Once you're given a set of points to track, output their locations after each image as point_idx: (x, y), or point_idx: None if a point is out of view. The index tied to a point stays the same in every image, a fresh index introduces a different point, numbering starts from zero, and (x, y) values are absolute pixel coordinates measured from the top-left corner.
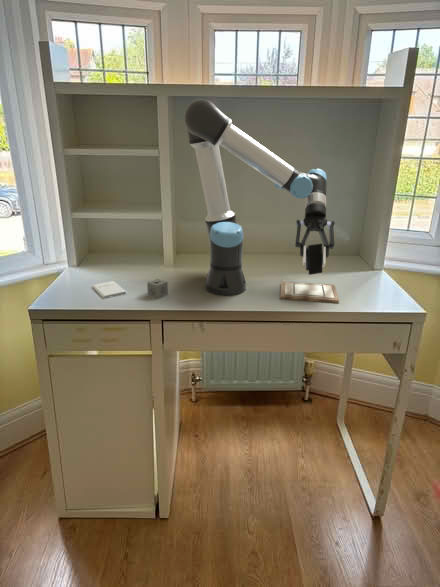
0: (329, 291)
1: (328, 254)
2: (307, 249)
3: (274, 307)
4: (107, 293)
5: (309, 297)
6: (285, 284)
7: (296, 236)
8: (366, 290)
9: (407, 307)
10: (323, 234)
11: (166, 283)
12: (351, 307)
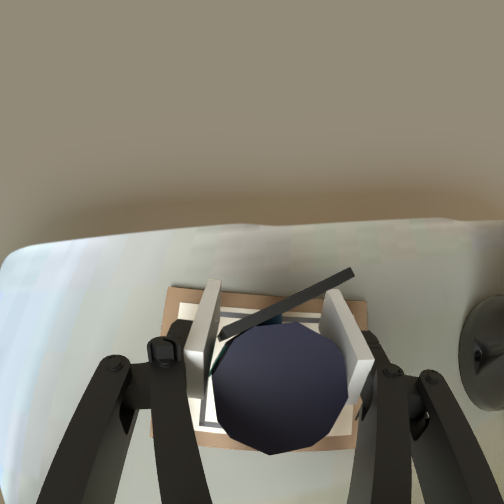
0: None
1: (174, 324)
2: (336, 350)
3: (372, 241)
4: None
5: (269, 302)
6: (351, 412)
7: (463, 417)
8: (56, 397)
9: (13, 271)
10: (181, 467)
11: None
12: (141, 260)
